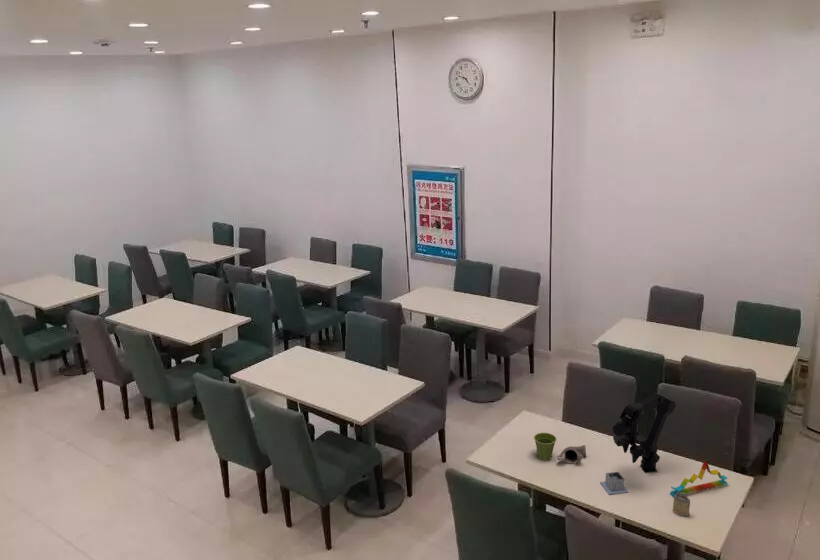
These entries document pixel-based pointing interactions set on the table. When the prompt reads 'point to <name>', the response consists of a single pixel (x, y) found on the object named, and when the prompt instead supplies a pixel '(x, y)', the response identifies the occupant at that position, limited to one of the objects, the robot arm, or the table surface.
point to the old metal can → (681, 504)
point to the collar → (614, 481)
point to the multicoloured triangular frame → (703, 486)
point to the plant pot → (545, 445)
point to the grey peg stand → (613, 491)
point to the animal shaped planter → (572, 454)
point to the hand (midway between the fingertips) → (629, 457)
